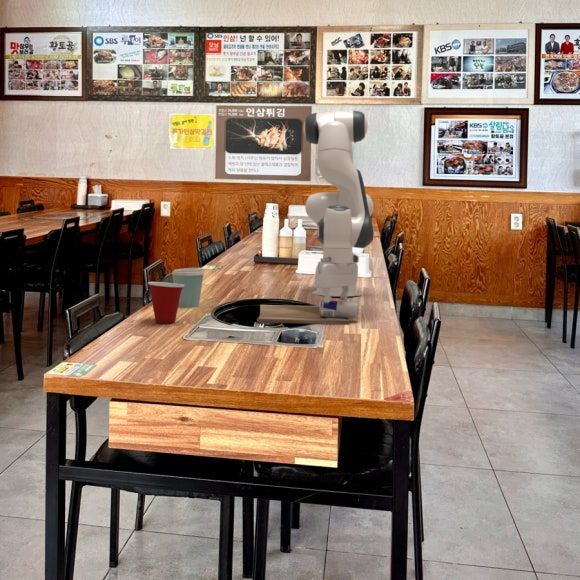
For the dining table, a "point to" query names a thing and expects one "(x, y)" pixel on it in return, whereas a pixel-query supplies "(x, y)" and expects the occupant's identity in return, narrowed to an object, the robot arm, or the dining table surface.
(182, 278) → the disposable coffee cup
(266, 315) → the walnut board
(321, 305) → the energy drink
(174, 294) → the plastic cup
